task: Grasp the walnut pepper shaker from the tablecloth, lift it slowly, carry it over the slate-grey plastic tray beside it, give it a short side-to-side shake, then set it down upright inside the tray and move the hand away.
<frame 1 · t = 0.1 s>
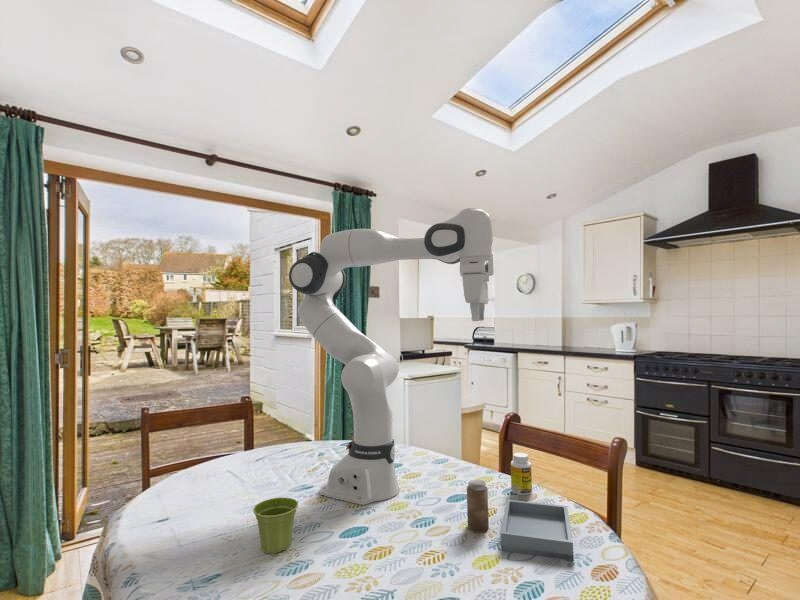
hand: (478, 320, 113), 48 cm above the table, tool pointing down, fingers open, 8 cm apart
tray: (536, 534, 95), on the table
supplement bottle: (521, 492, 118), on the table
shaker: (478, 527, 99), on the table
plant pot: (276, 547, 93), on the table
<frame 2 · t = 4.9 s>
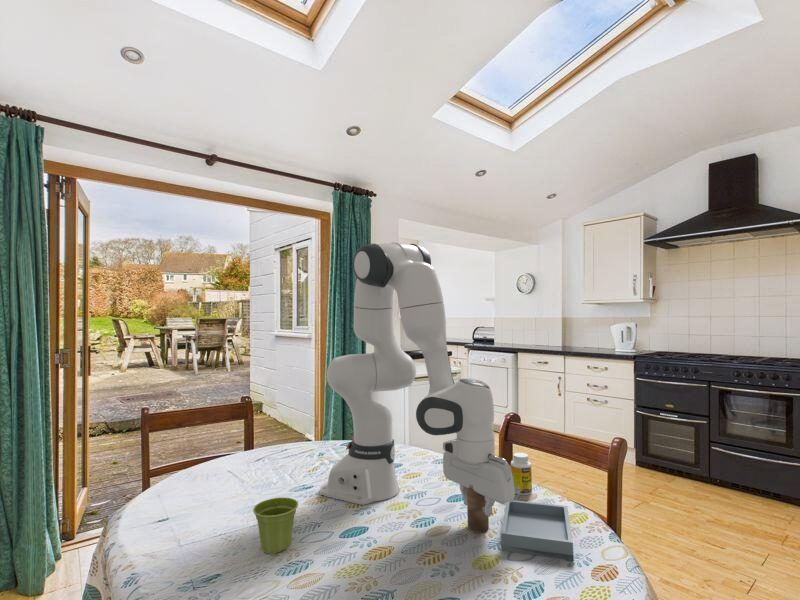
hand: (477, 509, 99), 4 cm above the table, tool pointing down, fingers closed on shaker, 5 cm apart
shaker: (478, 527, 99), on the table, touching gripper
everything else where it was.
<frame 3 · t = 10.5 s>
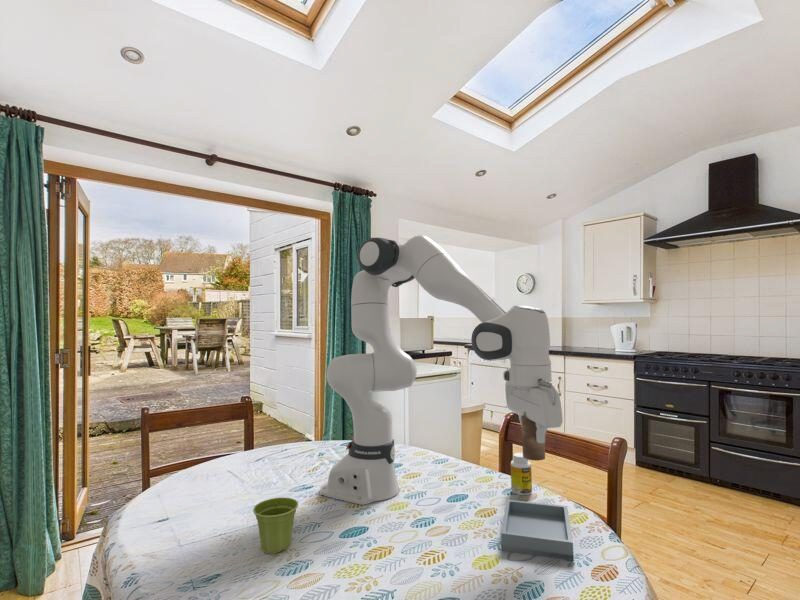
hand: (533, 438, 96), 21 cm above the table, tool pointing down, fingers closed on shaker, 5 cm apart
shaker: (533, 456, 96), point 17 cm above the table, touching gripper
everything else where it was.
when the fingers open (6 cm above the table, at t = 16.1 s): shaker stays where it is, resting on tray.
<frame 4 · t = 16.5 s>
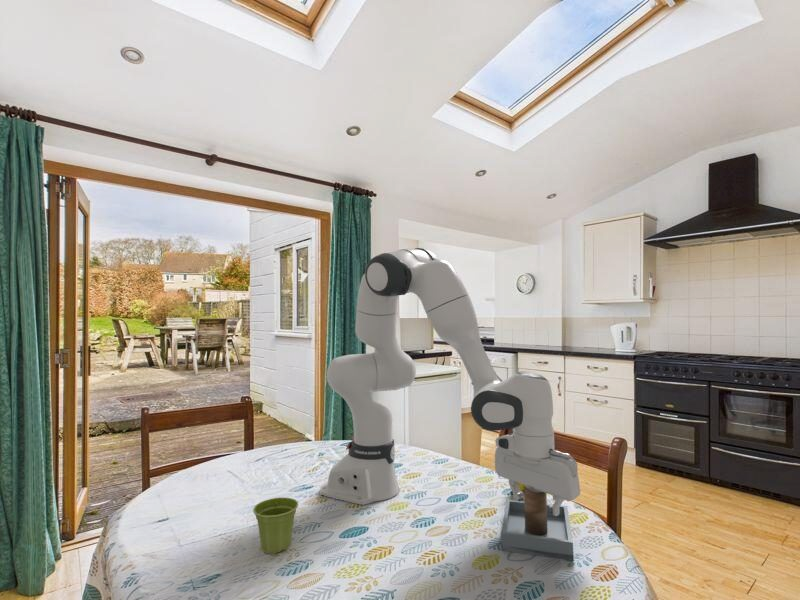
hand: (535, 507, 95), 6 cm above the table, tool pointing down, fingers open, 8 cm apart
shaker: (536, 530, 95), point 1 cm above the table, touching tray
everything else where it was.
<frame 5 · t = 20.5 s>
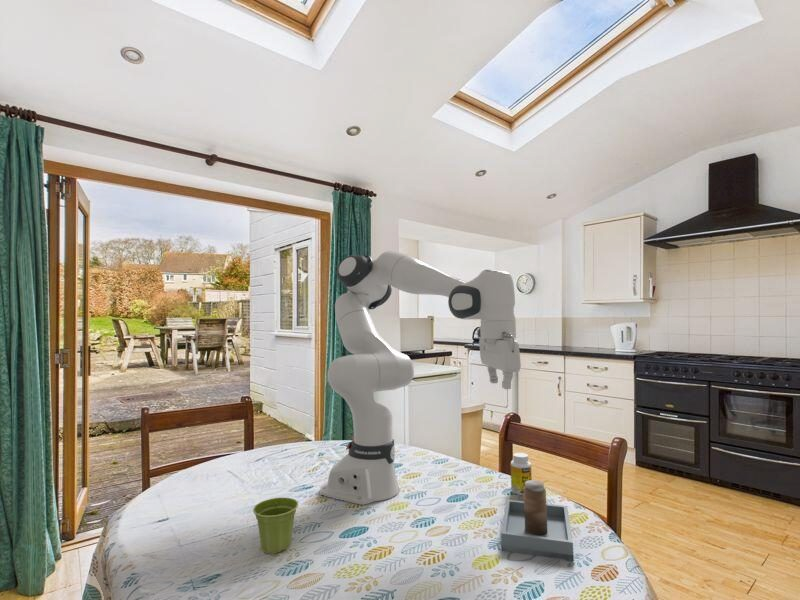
hand: (499, 385, 109), 31 cm above the table, tool pointing down, fingers open, 8 cm apart
nothing on the table moved.
at the end: shaker inside the target area on the tray (0.1 cm from its centre), point 1.0 cm above the tray's base; shaker tilted 1°; the gripper is holding nothing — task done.
